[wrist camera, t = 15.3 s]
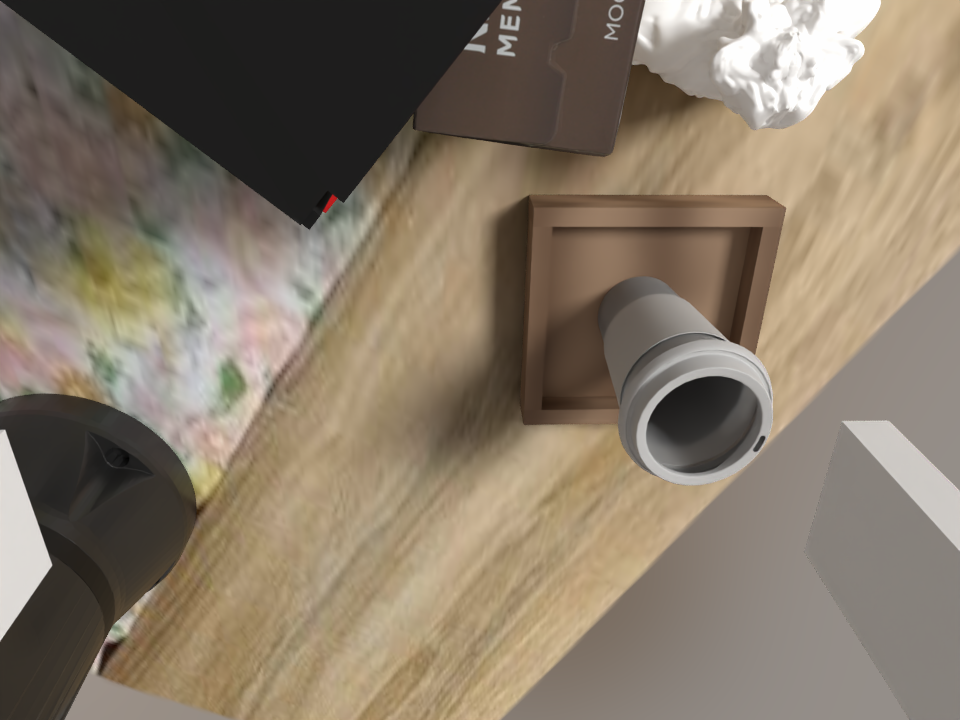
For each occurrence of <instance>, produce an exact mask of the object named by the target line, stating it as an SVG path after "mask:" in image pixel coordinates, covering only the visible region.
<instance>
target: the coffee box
mask: <svg viewBox="0 0 960 720" xmlns="http://www.w3.org/2000/svg"><path fill="white" fill-rule="evenodd" d="M644 5H645V0H502V1H501V3H500V4H499V5H498V6H497V8H496V9H495V10H494V11H493V13H492V14H491V15H490V17H489V18H488V19H487V20H486V22H485V23H484V24H483V25H482V27H481V28H480V29H479V31H478V32H477V33H476V34H475V36H474V37H473V38H472V40H471V41H470V42H469V43H468V45H467V46H466V47H465V48H464V50H463V51H462V52H461V54H460V55H459V56H458V57H457V59H456V60H455V61H454V62H453V64H452V65H451V66H450V68H449V69H448V70H447V71H446V73H445V74H444V75H443V77H442V78H441V79H440V80H439V82H438V83H437V84H436V85H435V87H434V88H433V89H432V91H431V92H430V93H429V94H428V96H427V97H426V98H425V99H424V101H423V102H422V103H421V105H420V106H419V107H418V108H417V110H416V111H415V112H414V119H413V129H414V130H418V131H424V132H429V133H436V134H442V135H449V136H456V137H462V138H469V139H476V140H483V141H490V142H497V143H504V144H511V145H518V146H525V147H532V148H541V149H548V150H555V151H563V152H570V153H577V154H584V155H592V156H603V157H605V156H608V155H610V154H611V153H612V152H613V149H614V145H615V140H616V136H617V131H618V127H619V123H620V118H621V114H622V109H623V104H624V99H625V95H626V90H627V85H628V80H629V75H630V70H631V65H632V61H633V56H634V51H635V47H636V42H637V37H638V32H639V28H640V23H641V19H642V14H643V10H644Z"/></svg>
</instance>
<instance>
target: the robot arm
mask: <svg viewBox="0 0 960 720" xmlns="http://www.w3.org/2000/svg"><path fill="white" fill-rule="evenodd" d="M195 520H196V498H195V493H194V489H193V485H192V483H191V480H190V477H189V475H188V473H187V471H186V469H185V468H184V466H183V464H182V463H181V461H180V460H179V458H178V457H177V455H176V454H175V453H174V452H173V450H172V449H171V448H170V447H169V446H168V445H167V444H166V443H165V442H164V441H163V440H162V439H161V438H160V437H159V436H158V435H157V434H155V433H154V432H153V431H152V430H150V429H149V428H148V427H146V426H145V425H143V424H142V423H141V422H139V421H137V420H136V419H134V418H132V417H131V416H129V415H127V414H125V413H123V412H121V411H119V410H117V409H115V408H112V407H110V406H107V405H105V404H102V403H99V402H96V401H92V400H88V399H85V398H80V397H75V396H68V395H60V394H32V395H24V396H18V397H14V398H10V399H6V400H3V401H0V720H64V719H65V717H66V716H67V714H68V711H69V710H70V708H71V706H72V704H73V702H74V700H75V698H76V696H77V694H78V692H79V690H80V688H81V686H82V684H83V682H84V680H85V678H86V676H87V674H88V672H89V670H90V668H91V666H92V664H93V662H94V660H95V658H96V656H97V654H98V653H99V651H100V648H101V646H102V645H103V643H104V641H105V639H106V637H107V635H108V633H109V631H110V630H111V628H112V626H113V625H114V624H115V623H116V622H117V621H118V620H119V619H120V618H121V617H122V616H123V615H124V614H125V613H126V612H127V611H128V610H129V609H130V608H131V607H132V606H133V605H134V604H135V603H136V602H137V601H138V600H139V599H140V598H141V597H142V596H143V595H144V594H145V593H146V592H148V591H150V590H151V589H152V588H154V587H155V586H156V585H157V584H158V583H160V582H161V581H162V580H163V579H164V578H165V577H166V576H167V575H168V574H169V573H170V572H171V570H172V569H173V568H174V566H175V565H176V563H177V562H178V560H179V559H180V557H181V555H182V553H183V550H184V548H185V546H186V544H187V542H188V540H189V538H190V536H191V534H192V531H193V528H194V524H195ZM804 553H805V554H806V556H807V557H808V559H809V560H810V562H811V564H812V565H813V567H814V569H815V570H816V572H817V573H818V575H819V576H820V578H821V580H822V581H823V583H824V585H825V586H826V588H827V589H828V591H829V592H830V594H831V596H832V597H833V599H834V600H835V602H836V603H837V605H838V607H839V608H840V610H841V611H842V613H843V615H844V616H845V618H846V620H847V621H848V623H849V624H850V626H851V627H852V629H853V631H854V632H855V634H856V635H857V637H858V638H859V640H860V642H861V643H862V645H863V647H864V648H865V650H866V651H867V653H868V655H869V656H870V658H871V659H872V661H873V662H874V664H875V666H876V667H877V669H878V670H879V672H880V674H881V675H882V677H883V678H884V680H885V681H886V683H887V685H888V686H889V688H890V690H891V691H892V693H893V694H894V696H895V698H896V699H897V701H898V702H899V704H900V705H901V707H902V709H903V710H904V712H905V713H906V715H907V717H908V718H909V720H960V491H959V490H958V489H957V488H956V487H955V486H954V485H953V484H952V483H951V482H950V481H949V480H948V479H947V478H946V477H945V476H944V475H943V474H942V473H941V472H940V471H939V470H938V469H937V468H936V467H935V466H934V465H933V464H932V463H931V462H930V461H929V460H928V459H927V458H926V457H925V456H924V455H923V454H922V453H921V452H920V451H919V450H918V449H917V448H916V447H915V446H914V445H913V444H912V443H911V442H909V440H907V438H906V437H905V436H904V435H902V433H901V432H900V431H899V430H897V428H896V427H894V426H893V425H892V424H891V423H890V422H889V421H842V423H841V426H840V430H839V433H838V437H837V440H836V444H835V447H834V451H833V454H832V458H831V461H830V464H829V468H828V472H827V475H826V478H825V482H824V485H823V489H822V492H821V496H820V499H819V502H818V506H817V509H816V513H815V516H814V520H813V523H812V526H811V530H810V533H809V537H808V540H807V544H806V547H805V551H804Z"/></svg>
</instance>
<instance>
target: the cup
mask: <svg viewBox="0 0 960 720" xmlns="http://www.w3.org/2000/svg"><path fill="white" fill-rule="evenodd" d="M598 324H599V328H600V332H601V335H602V339H603V342H604V355H605V358H606V362H607V365H608V369H609V372H610V376H611V379H612V383H613V387H614V390H615V394H616V397H617V401H618V404H619V408H620V410H619V416H618V430H619V436H620V439H621V442H622V445H623V447H624V449H625V450H626V452H627V454H628V455H629V456H630V457H631V459H632V460H633V461H634V462H635V463H636V464H637V465H638V466H640V467H641V468H642V469H644V470H645V471H647V472H649V473H650V474H652V475H655V476H657V477H660V478H662V479H663V480H666V481H668V482H671V483H675V484H681V485H703V484H709V483H713V482H716V481H719V480H722V479H725V478H727V477H729V476H731V475H733V474H735V473H736V472H738V471H739V470H741V469H742V468H743V467H745V466H746V465H748V464H749V463H750V462H751V461H752V460H753V459H754V458H755V457H756V456H757V454H758V453H759V452H760V450H761V449H762V447H763V446H764V445H765V442H766V440H767V438H768V436H769V434H770V430H771V427H772V423H773V408H772V405H773V392H772V387H771V382H770V378H769V375H768V373H767V371H766V369H765V367H764V365H763V364H762V362H761V361H760V360H759V359H758V358H757V357H756V356H755V355H754V354H753V353H752V352H750V351H749V350H747V349H746V348H744V347H742V346H740V345H738V344H735V343H732V342H730V341H729V340H727V339H726V338H725V337H724V336H723V335H722V334H721V333H720V332H719V331H718V330H717V329H716V328H715V327H714V326H713V325H712V324H711V323H710V322H709V321H708V320H707V319H706V318H705V317H704V316H703V315H702V314H701V313H700V312H699V311H697V310H696V309H695V308H694V307H693V306H692V305H691V304H690V303H689V302H687V301H686V300H684V299H683V298H680V297H679V296H678V295H677V294H676V293H675V292H674V291H673V290H672V289H671V288H670V287H669V286H668V285H667V284H666V283H664V282H663V281H661V280H659V279H656V278H652V277H645V276H641V277H634V278H630V279H627V280H624V281H622V282H620V283H619V284H617V285H616V286H614V287H613V288H612V289H611V290H610V291H609V292H608V293H607V294H606V296H605V297H604V299H603V300H602V302H601V305H600V308H599V311H598Z"/></svg>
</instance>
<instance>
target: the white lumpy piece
mask: <svg viewBox="0 0 960 720" xmlns="http://www.w3.org/2000/svg"><path fill="white" fill-rule="evenodd" d="M880 4H881V1H880V0H645V5H644V10H643V14H642V19H641V23H640V28H639V32H638V37H637V42H636V47H635V51H634V56H633V61H632V65H639V64H645V65H646V66H647V67H648V69H649V71H650V72H652V73H657V74H659V75H660V76H661V78H662V80H663V81H664V82H666V83H670V84H674V85H676V86H677V87H679V88H680V89H681V90H682V91H684V92H685V93H686V94H687V95H690V96H693V95H695V96H696V97H698V98H702V97H707V98H709V99H717V100H720V101H723V102H724V105H725V106H726V107H728V108H729V109H731V110H732V111H733V112H734V113H736V114H740V116H741V117H742V118H743V119H744V120H745V121H746V122H747V124H748V125H749V127H750V128H751V129H753V130H757V129H761V128H762V129H763V128H775V129H782V128H786V127H789V126H792V125H794V124H796V123H798V122H800V121H802V120H804V119H805V118H806V117H807V116H808V115H809V114H810V113H811V112H812V111H813V110H814V108H815V106H816V105H817V103H818V101H819V99H820V98H821V97H822V95H823V94H824V93H825V91H826V90H830V89H832V88H833V87H834V86H835V85H836V84H838V83H839V82H840V81H841V80H842V79H843V78H845V77H846V76H847V75H848V74H849V73H850V71H851V69H852V66H853V64H854V63H855V62H857V61H858V60H859V59H860V58H861V57H862V56H863V54H864V46H863V44H862V43H861V42H860V41H859V40H856V39H854V38H855V37H856V36H857V35H858V34H859V33H861V32H862V31H863V30H864V29H865V28H866V27H867V25H868V24H869V23H870V22H871V21H872V19H873V18H874V17H875V15H876V13H877V12H878V10H879V8H880Z"/></svg>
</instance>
